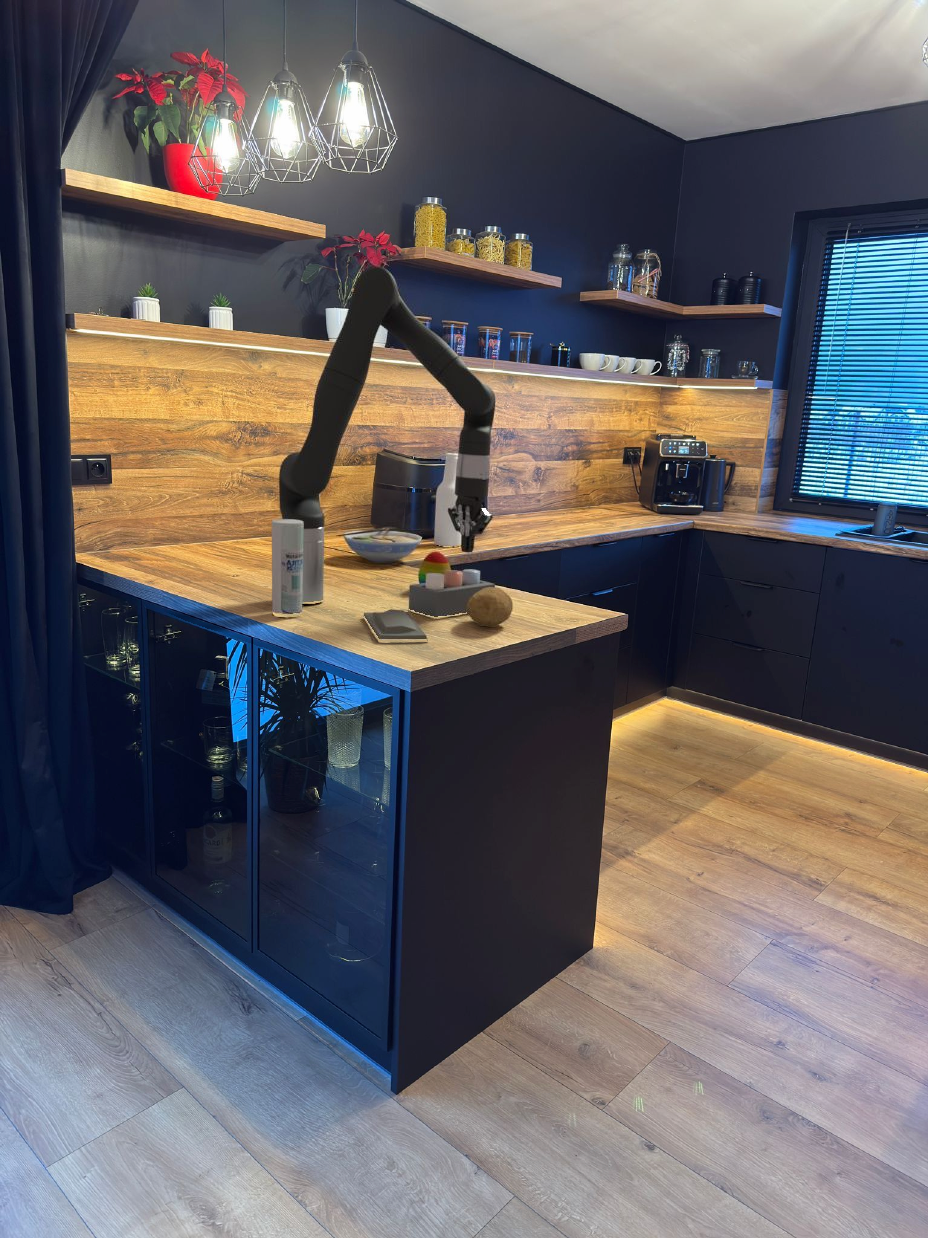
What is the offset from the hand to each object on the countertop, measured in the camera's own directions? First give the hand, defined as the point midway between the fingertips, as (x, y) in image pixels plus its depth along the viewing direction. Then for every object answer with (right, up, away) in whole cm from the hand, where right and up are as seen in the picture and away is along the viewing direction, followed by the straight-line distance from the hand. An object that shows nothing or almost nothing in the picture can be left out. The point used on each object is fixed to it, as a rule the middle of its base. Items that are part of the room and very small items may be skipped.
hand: (467, 551), depth 200 cm
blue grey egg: (+1, -10, +2) cm, 10 cm away
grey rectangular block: (-3, -13, -1) cm, 14 cm away
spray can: (-38, -15, -13) cm, 43 cm away
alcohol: (-6, +9, +90) cm, 91 cm away
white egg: (-7, -11, -6) cm, 15 cm away
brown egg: (-3, -10, -2) cm, 11 cm away
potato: (+5, -17, -12) cm, 21 cm away
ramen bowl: (-25, +1, +56) cm, 61 cm away
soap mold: (-15, -18, -21) cm, 31 cm away
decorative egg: (-8, -9, +18) cm, 22 cm away
